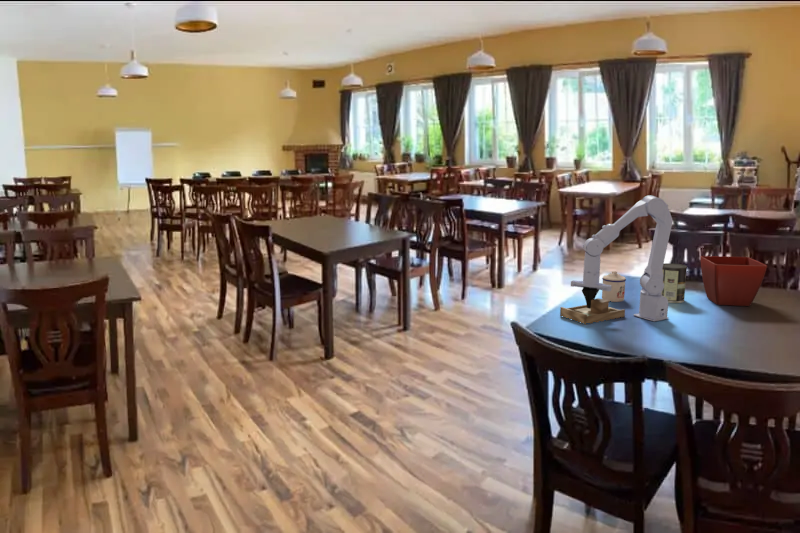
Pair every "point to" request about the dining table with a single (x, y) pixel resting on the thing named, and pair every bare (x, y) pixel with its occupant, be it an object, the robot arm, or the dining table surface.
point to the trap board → (590, 314)
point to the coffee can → (674, 282)
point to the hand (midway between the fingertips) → (589, 307)
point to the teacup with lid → (614, 287)
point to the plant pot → (731, 279)
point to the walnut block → (599, 306)
